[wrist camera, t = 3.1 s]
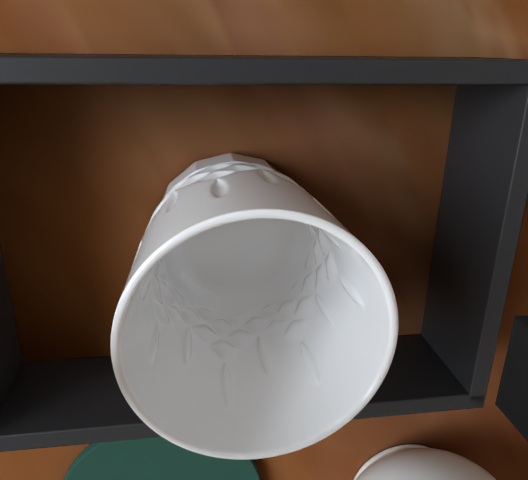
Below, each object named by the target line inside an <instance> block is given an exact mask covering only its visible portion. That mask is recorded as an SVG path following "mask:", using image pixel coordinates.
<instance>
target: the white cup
mask: <svg viewBox="0 0 528 480" xmlns="http://www.w3.org/2000/svg"><path fill="white" fill-rule="evenodd" d="M398 328H399V319H398V308H397V303H396V298H395V295H394V291H393V288H392V286H391V283H390V281H389V278H388V276H387V274H386V273H385V271H384V269H383V267H382V266H381V264H380V263H379V261H378V260H377V259H376V257H375V256H374V255H373V254H372V253H371V252H370V250H369V249H368V248H367V247H366V246H365V245H364V244H363V243H361V242H360V241H359V240H358V239H357V238H356V237H355V236H354V235H353V234H352V233H351V232H350V231H349V230H348V229H347V228H345V227H344V226H343V225H342V224H341V223H340V222H339V221H338V220H337V219H336V218H335V217H334V216H333V215H332V214H331V213H330V212H329V211H328V210H327V209H326V208H325V207H324V206H323V205H322V204H321V203H320V202H319V201H317V200H316V199H315V198H314V197H313V196H311V195H310V194H309V193H308V192H307V191H305V190H304V189H303V188H302V187H301V186H299V185H298V184H297V183H296V182H295V181H294V180H292V179H291V178H289V177H288V176H286V175H284V174H282V173H281V172H279V171H278V170H277V169H275V168H274V167H273V166H272V165H270V164H269V163H268V162H266V161H265V160H263V159H259V158H254V157H249V156H244V155H239V154H234V153H226V154H222V155H218V156H214V157H210V158H206V159H202V160H198V161H195V162H194V163H193V164H192V165H190V166H189V167H188V168H187V169H186V170H184V171H183V172H182V173H181V174H180V175H178V176H177V177H176V178H175V179H174V180H172V181H171V182H170V183H169V184H168V186H167V189H166V191H165V193H164V196H163V198H162V200H161V202H160V204H159V205H158V206H157V208H156V209H155V211H154V213H153V215H152V217H151V220H150V222H149V224H148V226H147V228H146V231H145V234H144V236H143V238H142V240H141V242H140V245H139V248H138V250H137V253H136V256H135V259H134V262H133V265H132V267H131V270H130V273H129V276H128V278H127V281H126V284H125V287H124V289H123V292H122V295H121V297H120V300H119V303H118V305H117V308H116V311H115V315H114V319H113V323H112V329H111V339H110V350H111V360H112V366H113V370H114V374H115V377H116V380H117V383H118V386H119V388H120V390H121V392H122V394H123V396H124V398H125V399H126V401H127V403H128V404H129V406H130V407H131V408H132V410H133V411H134V412H135V413H136V415H137V416H138V417H139V418H140V419H141V420H142V421H143V422H144V423H145V424H146V425H147V426H148V427H149V428H151V429H152V430H153V431H154V432H156V433H157V434H159V435H160V436H161V437H163V438H165V439H166V440H168V441H170V442H172V443H173V444H175V445H177V446H180V447H182V448H184V449H187V450H189V451H192V452H195V453H198V454H202V455H206V456H211V457H216V458H223V459H235V460H250V459H262V458H269V457H275V456H279V455H284V454H287V453H291V452H294V451H297V450H300V449H303V448H305V447H308V446H310V445H312V444H314V443H317V442H319V441H320V440H322V439H324V438H326V437H328V436H329V435H331V434H333V433H334V432H336V431H337V430H339V429H340V428H341V427H343V426H344V425H345V424H347V423H348V422H349V421H350V420H352V419H353V418H354V417H355V416H356V415H357V414H358V413H359V412H360V411H361V410H362V409H363V408H364V407H365V406H366V405H367V404H368V402H369V401H370V400H371V399H372V397H373V396H374V395H375V393H376V392H377V390H378V389H379V387H380V386H381V384H382V382H383V380H384V379H385V377H386V375H387V373H388V370H389V368H390V366H391V363H392V360H393V357H394V354H395V350H396V345H397V339H398Z"/></svg>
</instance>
